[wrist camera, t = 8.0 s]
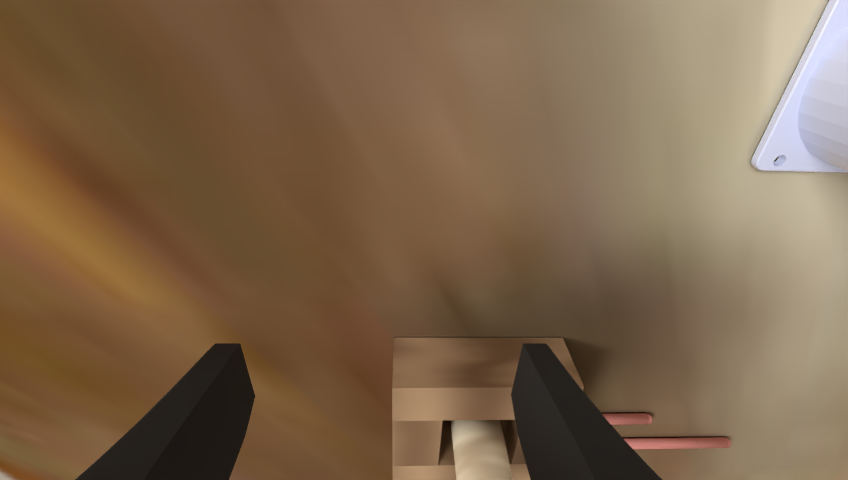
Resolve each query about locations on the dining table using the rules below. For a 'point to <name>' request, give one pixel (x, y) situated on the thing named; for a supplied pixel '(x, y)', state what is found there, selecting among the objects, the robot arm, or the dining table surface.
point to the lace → (662, 442)
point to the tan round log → (480, 450)
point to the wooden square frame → (455, 398)
